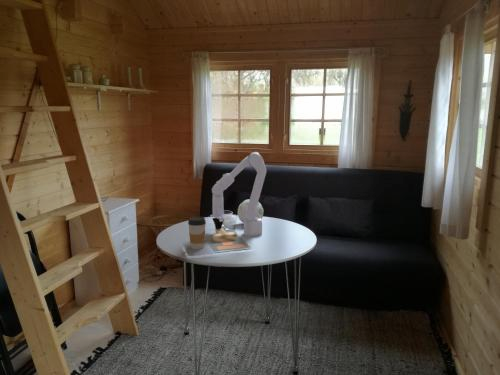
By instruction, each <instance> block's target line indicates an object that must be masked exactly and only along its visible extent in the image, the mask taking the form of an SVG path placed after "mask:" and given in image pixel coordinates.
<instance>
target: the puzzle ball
mask: <svg viewBox="0 0 500 375" xmlns="http://www.w3.org/2000/svg"><path fill="white" fill-rule="evenodd" d="M249 201H250V198H249V199H245V200H243V201H242V202H241V203H240V204H239V206H238V208H237V217H238V219H239V221H240V222H242V223H243V224H244V218H245V217H244V213H245V208H246V207H247V206H248V204H249ZM256 209H257V212H256V217H257V219H261V220H262V219H263V217H264V208H263V205H262V204H261V202H260V201H258V204H257V208H256Z"/></svg>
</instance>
